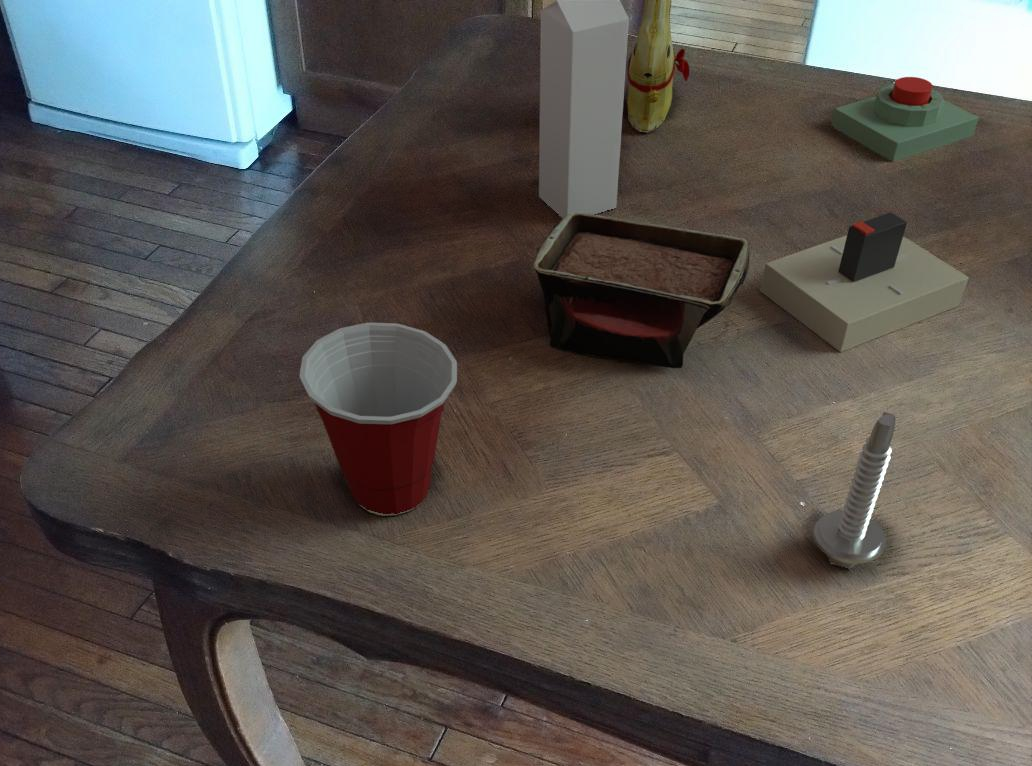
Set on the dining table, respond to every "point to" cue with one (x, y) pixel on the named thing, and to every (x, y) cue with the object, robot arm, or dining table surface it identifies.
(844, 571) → the dining table surface
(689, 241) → the baking dish
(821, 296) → the panel
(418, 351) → the plastic cup
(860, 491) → the screw
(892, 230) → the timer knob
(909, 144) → the button block
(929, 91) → the power button
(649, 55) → the chocolate bunny
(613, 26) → the milk
